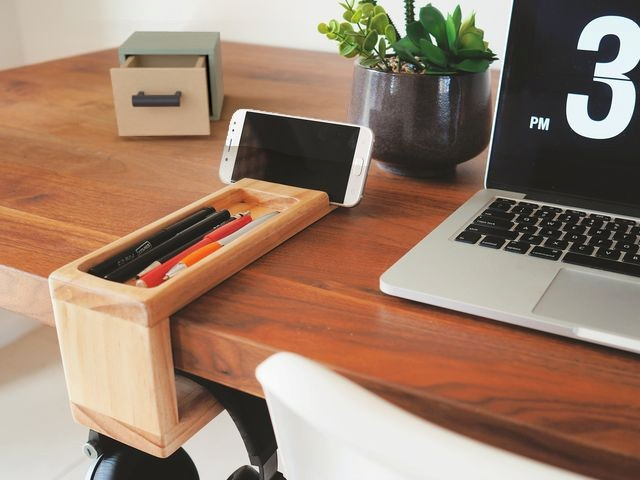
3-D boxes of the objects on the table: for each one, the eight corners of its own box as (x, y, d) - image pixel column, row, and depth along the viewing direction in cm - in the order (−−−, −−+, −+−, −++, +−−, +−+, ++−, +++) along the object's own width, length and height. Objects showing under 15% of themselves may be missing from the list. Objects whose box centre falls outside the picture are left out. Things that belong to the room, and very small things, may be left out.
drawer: (207, 145, 89) (202, 77, 85) (112, 146, 88) (102, 77, 84) (216, 108, 105) (211, 50, 101) (135, 109, 104) (128, 49, 100)
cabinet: (219, 122, 102) (213, 48, 97) (127, 123, 100) (117, 48, 96) (224, 97, 115) (219, 31, 110) (142, 98, 113) (134, 31, 109)
